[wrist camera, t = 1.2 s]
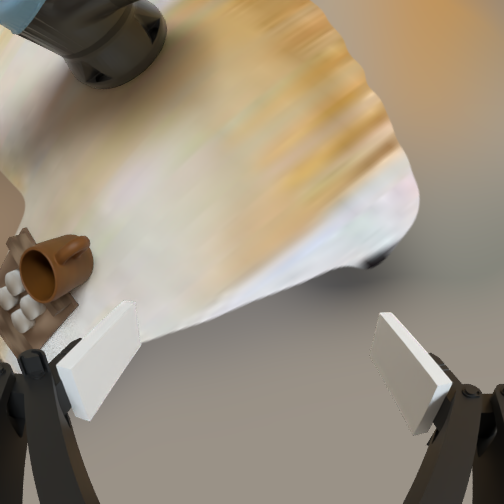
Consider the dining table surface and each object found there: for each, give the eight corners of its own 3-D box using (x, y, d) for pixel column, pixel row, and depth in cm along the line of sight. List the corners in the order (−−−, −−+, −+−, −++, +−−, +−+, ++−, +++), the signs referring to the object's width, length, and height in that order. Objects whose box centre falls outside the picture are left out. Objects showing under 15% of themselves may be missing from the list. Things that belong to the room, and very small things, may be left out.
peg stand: (-8, 288, 40) (-23, 296, 35) (26, 227, 37) (6, 232, 32) (36, 353, 42) (22, 365, 37) (78, 305, 39) (61, 317, 34)
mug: (99, 207, 36) (58, 214, 27) (125, 254, 37) (89, 274, 28) (50, 248, 37) (11, 263, 28) (73, 290, 39) (37, 313, 29)
